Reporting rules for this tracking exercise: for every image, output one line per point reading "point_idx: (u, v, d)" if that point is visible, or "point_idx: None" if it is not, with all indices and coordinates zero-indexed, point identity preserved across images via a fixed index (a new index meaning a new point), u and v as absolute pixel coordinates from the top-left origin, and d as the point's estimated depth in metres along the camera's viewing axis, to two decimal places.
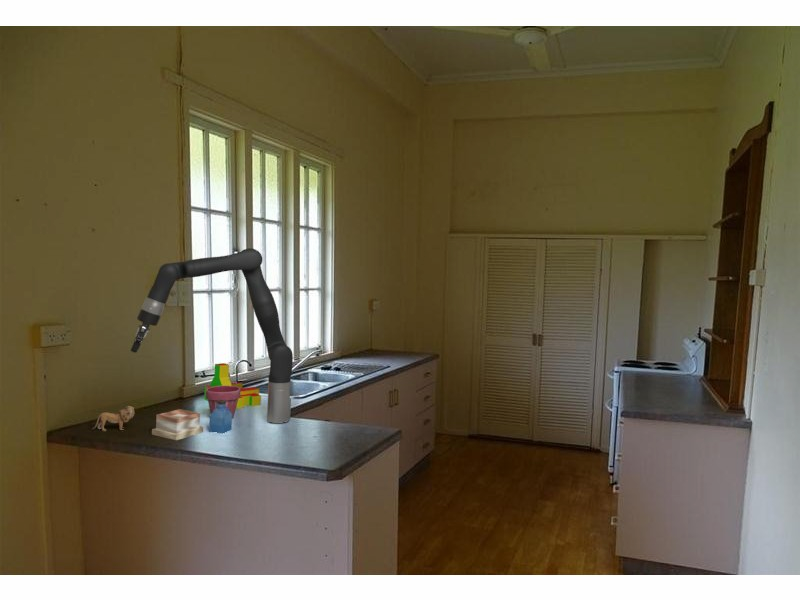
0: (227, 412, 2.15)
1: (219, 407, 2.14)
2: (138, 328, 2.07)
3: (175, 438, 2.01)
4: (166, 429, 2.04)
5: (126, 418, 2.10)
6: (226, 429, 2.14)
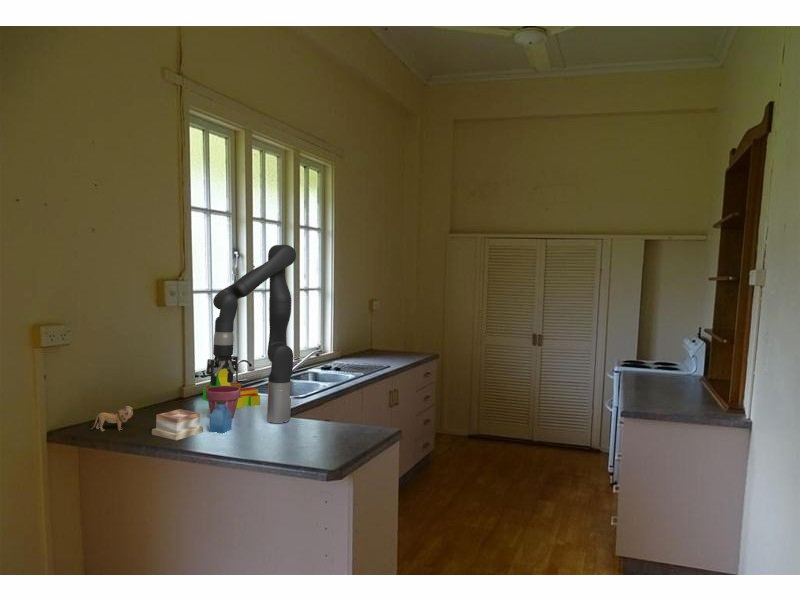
0: (227, 412, 2.15)
1: (219, 407, 2.14)
2: None
3: (175, 438, 2.01)
4: (166, 429, 2.04)
5: (124, 418, 2.09)
6: (226, 429, 2.14)
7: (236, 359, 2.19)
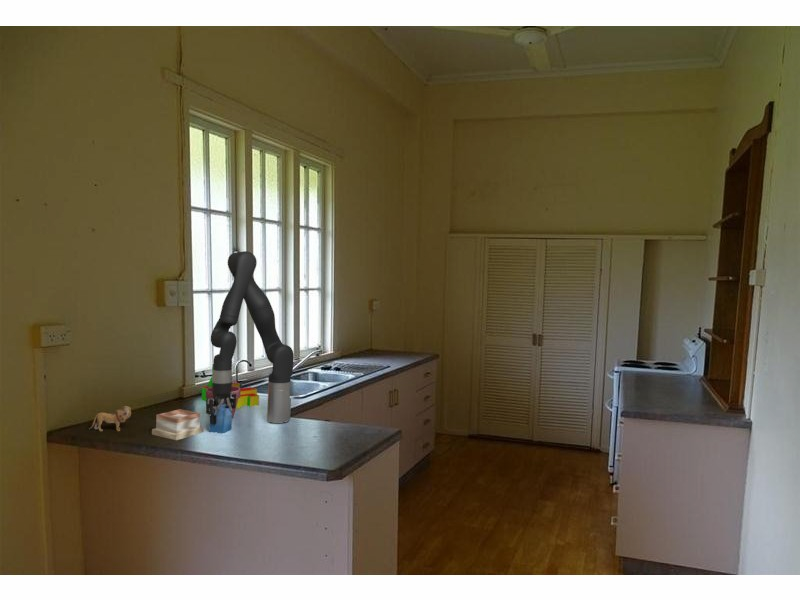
0: (227, 412, 2.15)
1: None
2: None
3: (175, 438, 2.01)
4: (166, 429, 2.04)
5: (123, 418, 2.09)
6: (226, 428, 2.14)
7: (235, 396, 2.20)
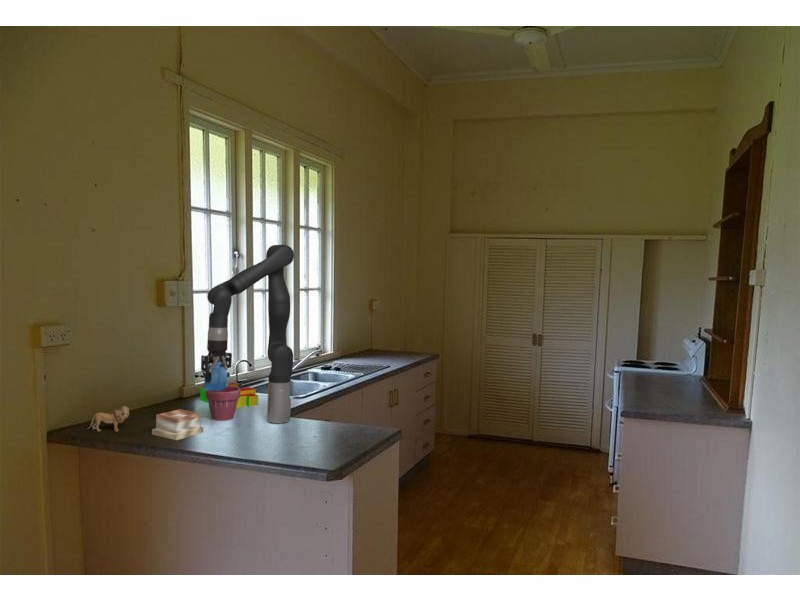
0: (223, 370, 2.14)
1: None
2: None
3: (175, 438, 2.01)
4: (166, 429, 2.04)
5: (121, 418, 2.09)
6: (221, 387, 2.12)
7: (230, 355, 2.18)
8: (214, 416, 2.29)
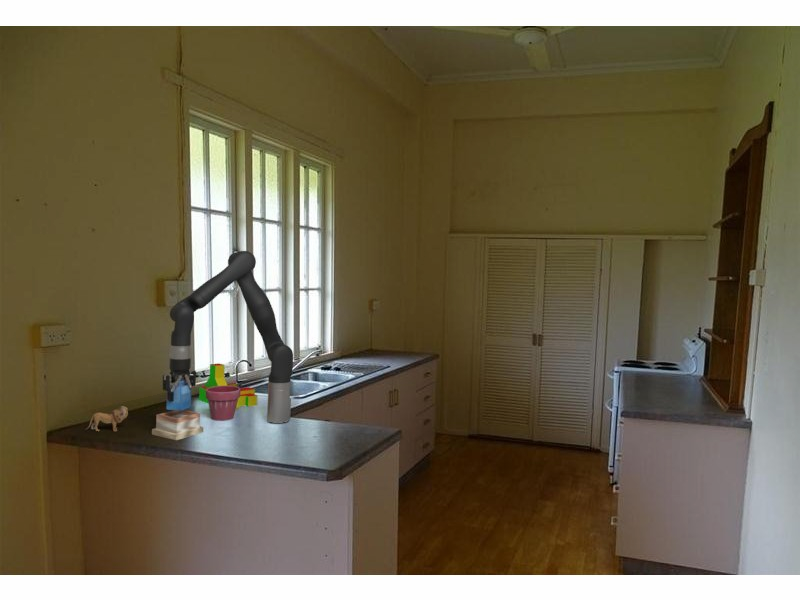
0: (186, 389, 2.09)
1: None
2: None
3: (175, 438, 2.01)
4: (166, 429, 2.04)
5: (119, 418, 2.09)
6: (184, 406, 2.07)
7: (194, 374, 2.13)
8: (214, 416, 2.29)
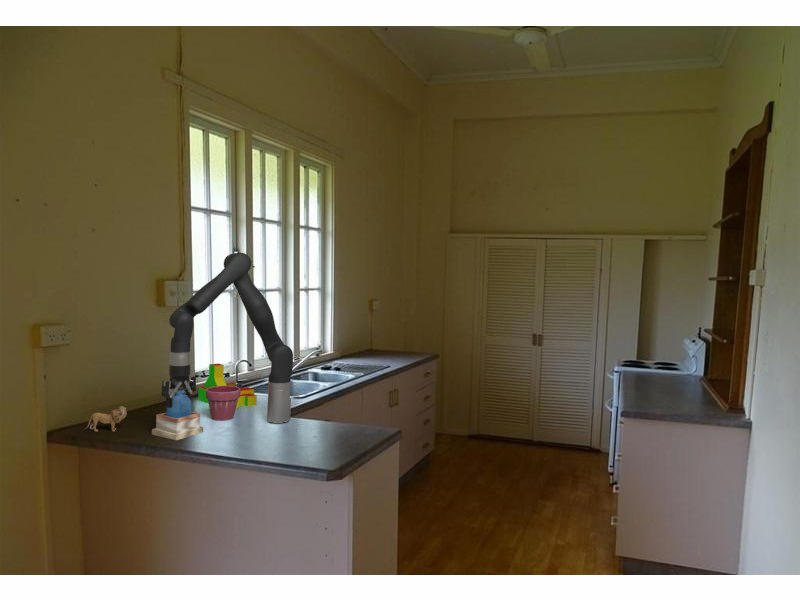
0: (186, 399, 2.09)
1: (177, 393, 2.07)
2: None
3: (175, 438, 2.01)
4: (166, 429, 2.04)
5: (118, 418, 2.09)
6: None
7: (194, 379, 2.14)
8: (214, 416, 2.29)
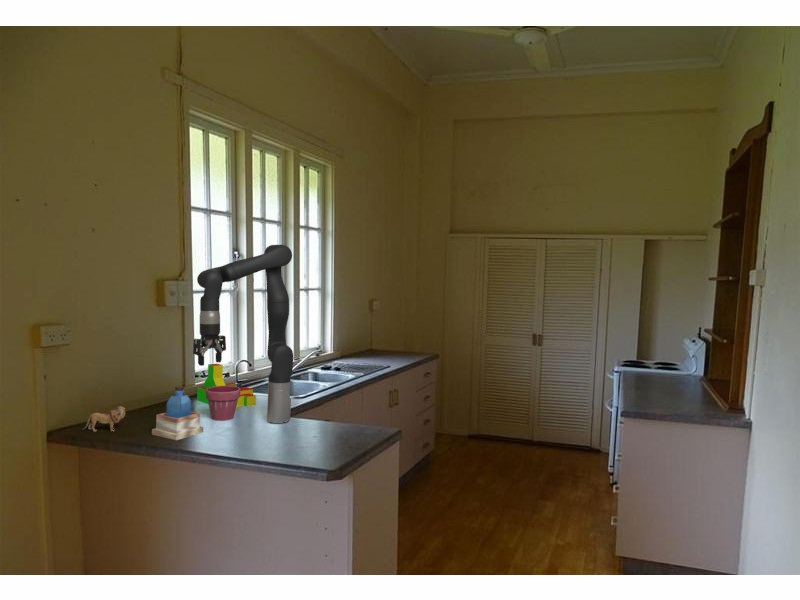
0: (186, 399, 2.09)
1: (177, 393, 2.07)
2: None
3: (175, 438, 2.01)
4: (166, 429, 2.04)
5: (117, 418, 2.08)
6: None
7: (224, 338, 2.15)
8: (214, 416, 2.29)
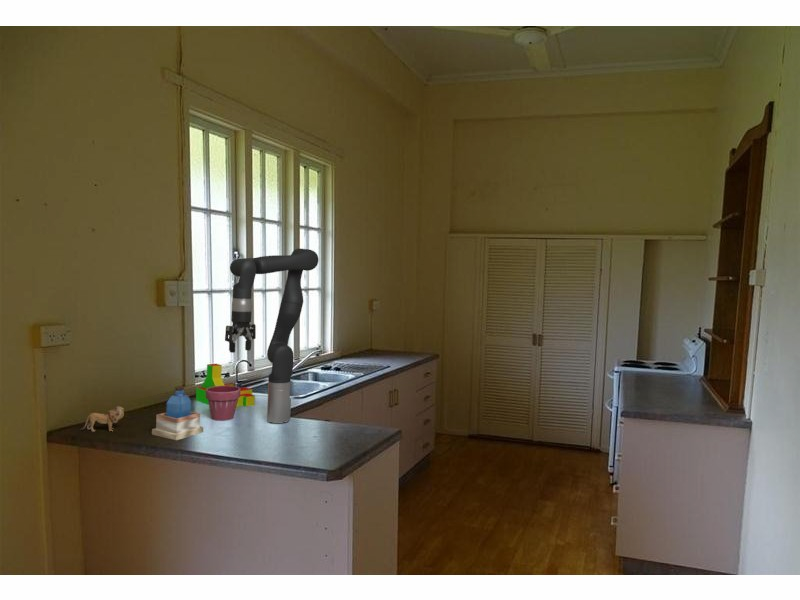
0: (186, 399, 2.09)
1: (177, 393, 2.07)
2: (233, 329, 2.11)
3: (175, 438, 2.01)
4: (166, 429, 2.04)
5: (115, 419, 2.08)
6: None
7: (254, 327, 2.17)
8: (214, 416, 2.29)
